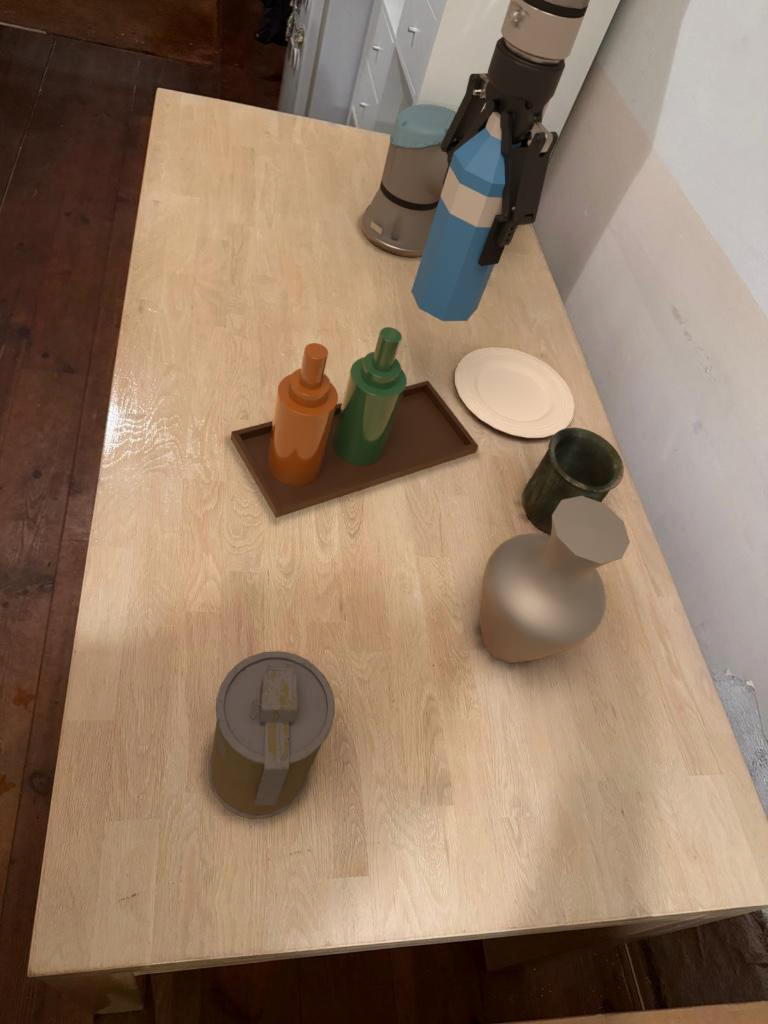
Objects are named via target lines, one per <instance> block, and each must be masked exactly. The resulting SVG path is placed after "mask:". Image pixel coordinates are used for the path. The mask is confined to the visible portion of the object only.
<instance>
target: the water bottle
mask: <svg viewBox="0 0 768 1024" xmlns="http://www.w3.org/2000/svg"><path fill="white" fill-rule="evenodd" d="M500 117H501V115H500V114H499V113H498V112H492V114H491V115H490V116H489V119H488V122H487V125H486V128H484V129H483V130H482V131H480V132H479V133H478V134H476V135H475V136H474V137H473V138H471V139H470V140H469V141H467V142H466V143H465V144H463V145H462V146H461V147H460V148H459V149H457V150H456V151H455V152H454V154H453V157H452V160H451V163H450V167H449V170H448V173H447V176H446V180H445V183H444V186H443V190H442V193H441V196H440V199H439V203H438V206H437V209H436V212H435V216H434V219H433V222H432V226H431V229H430V232H429V235H428V239H427V242H426V245H425V248H424V252H423V255H422V256H421V259H420V262H419V265H418V269H417V272H416V275H415V278H414V281H413V285H412V288H411V291H410V292H411V295H412V296H413V298H414V301H415V303H416V305H417V307H418V309H419V310H421V311H423V312H425V313H427V314H428V315H430V316H432V317H433V318H436V319H438V320H439V321H441V322H467V321H469V319H470V318H471V317H472V316H473V315H474V313H475V312H476V311H477V310H478V307H479V306H480V302H481V300H482V298H483V295H484V293H485V290H486V288H487V285H488V283H489V280H490V278H491V275H492V272H493V270H494V267H495V265H496V264H493V265H487V266H480V265H479V264H478V261H479V258H480V256H481V253H482V250H483V247H484V245H485V242H486V239H487V237H488V234H489V231H490V229H491V226H492V223H493V221H494V218H495V215H499V214H502V194H503V188H504V186H505V167H504V156H503V155H502V154H501V134H502V130H501V128H500ZM520 145H521V143H519V144H512V148H514V147H520ZM513 209H515V207H513V208H512V210H513Z"/></svg>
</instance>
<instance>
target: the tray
mask: <svg viewBox="0 0 768 1024" xmlns="http://www.w3.org/2000/svg"><path fill="white" fill-rule="evenodd" d="M341 406H342V402H341V403H337V406H336V410H335V414H334V418H333V422H332V426H331V431H330V435H329V439H328V443H327V447H326V451H325V455H324V459H323V463H322V467H321V471H320V474H319V476H318V477H317V478H316V479H315V480H314V481H313V482H311V483H309V484H307V485H302V486H292V485H287V484H284V483H282V482H280V481H278V480H277V479H275V478H274V477H273V476H272V475H271V473H270V472H269V470H268V467H267V456H268V449H269V443H270V436H271V430H272V423H273V420H271V421H267V422H264V423H259V424H256V425H252V426H248V427H244V428H240V429H236V430H232V431H231V432H230V441H231V442H232V444H233V445H234V447H235V449H236V451H237V453H238V454H239V456H240V458H241V460H242V461H243V463H244V465H245V466H246V468H247V470H248V472H249V474H250V475H251V477H252V479H253V480H254V482H255V484H256V485H257V487H258V489H259V491H260V493H261V494H262V496H263V498H264V500H265V502H267V505H268V507H269V509H270V510H271V512H272V514H273V515H274V517H275V518H281V517H283V516H286V515H288V514H289V515H290V514H292V513H294V512H298V511H300V510H304V509H307V508H310V507H314V506H316V505H319V504H323V503H325V502H328V501H331V500H335V499H338V498H341V497H343V496H344V497H345V496H346V495H350V494H354V493H356V492H360V491H362V490H365V489H368V488H371V487H375V486H378V485H380V484H383V483H386V482H390V481H393V480H396V479H398V478H403V477H405V476H408V475H411V474H414V473H417V472H420V471H423V470H426V469H429V468H432V467H436V466H439V465H441V464H445V463H447V462H451V461H454V460H457V459H460V458H463V457H467V456H469V455H472V454H476V452H477V451H478V448H479V445H478V443H477V442H476V441H475V439H474V438H473V437H472V435H471V434H470V433H469V432H468V430H467V429H466V428H465V426H464V425H463V424H462V423H461V421H460V420H459V418H458V417H457V416H456V414H455V413H454V412H453V411H452V410H451V408H450V407H449V406H448V404H447V403H446V402H445V400H444V399H443V398H442V396H441V395H440V394H439V392H437V390H436V389H435V387H434V386H433V385H432V384H431V382H430V381H429V380H424V381H421V382H417V383H412V384H409V385H406V387H405V390H404V393H403V396H402V399H401V402H400V405H399V408H398V411H397V414H396V417H395V420H394V423H393V426H392V429H391V432H390V435H389V438H388V441H387V444H386V447H385V449H384V452H383V455H382V457H381V458H380V459H379V460H378V461H377V462H375V463H374V464H371V465H366V466H360V465H354V464H351V463H348V462H346V461H345V460H343V459H342V458H340V457H339V456H338V454H337V453H336V452H335V450H334V447H333V437H334V433H335V429H336V426H337V422H338V418H339V414H340V410H341Z"/></svg>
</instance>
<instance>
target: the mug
mask: <svg viewBox="0 0 768 1024" xmlns="http://www.w3.org/2000/svg"><path fill="white" fill-rule="evenodd" d="M624 473H625V469H624V463H623V460H622V457H621V456H620V454H619V452H618V451H617V449H616V448H615V447H614V446H613V445H612V443H610V442H609V441H608V440H607V439H606V438H604V437H603V436H601V435H599V434H598V433H596V432H594V431H591V430H589V429H585V428H582V427H566V428H565V429H562V430H560V431H558V432H557V433H555V434H554V435H553V436H551V438H550V440H549V442H548V448H547V451H546V452H545V454H544V455H543V457H542V459H541V460H540V462H539V464H538V466H537V467H536V468H535V471H534V472H533V473H532V475H531V477H530V479H529V480H528V482H527V484H526V485H525V487H524V488H523V491H522V494H521V502H522V503H521V504H522V508H523V510H524V512H525V514H526V516H527V518H528V520H529V521H530V522H531V523H532V524H533V525H534V526H535V527H536V528H537V529H539V530H540V531H542V532H544V533H547V534H548V535H551V531H552V514H553V513H554V511H555V510H556V508H557V506H558V505H559V503H560V502H561V500H564V499H569V498H574V497H578V496H584V497H587V498H590V499H592V500H595V501H598V502H601V503H603V501H604V499H605V498H606V497H607V495H608V494H609V493H610V491H612V490H613V489H616V487H618V486H619V485H620V484H621V482H622V480H623V477H624Z"/></svg>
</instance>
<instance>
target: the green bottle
mask: <svg viewBox="0 0 768 1024" xmlns="http://www.w3.org/2000/svg"><path fill="white" fill-rule="evenodd" d="M402 338H403V337H402V333H401V332H400V331H399V330H398V329H396V328H394V327H388V326H386V327H383V328H381V329H380V331H379V334H378V337H377V341H376V345H375V347H374V348H375V349H374V351H371V352H369V353H367V354H366V355H364V356H363V357H360V358H358V359H356V360H355V361H354V362H353V363H352V365H351V367H350V370H349V374H348V379H347V382H346V386H345V390H344V393H343V394H344V395H343V397H342V402H341V403H342V406H341V410H340V414H339V418H338V422H337V426H336V429H335V433H334V437H333V447H334V450H335V452H336V453H337V454H338V456H339V457H340V458H342V459H343V460H345V461H346V462H348V463H351V464H354V465H360V466H366V465H371V464H374V463H375V462H377V461H378V460H379V459H380V458H381V457H382V455H383V452H384V449H385V447H386V444H387V441H388V438H389V435H390V432H391V429H392V426H393V423H394V420H395V417H396V414H397V411H398V408H399V405H400V402H401V399H402V396H403V393H404V390H405V387H406V386H407V383H408V380H407V375H406V373H405V371H404V370H403V368H402V366H401V363H400V361H399V359H397V355H398V352H399V349H400V345H401V342H402Z"/></svg>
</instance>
